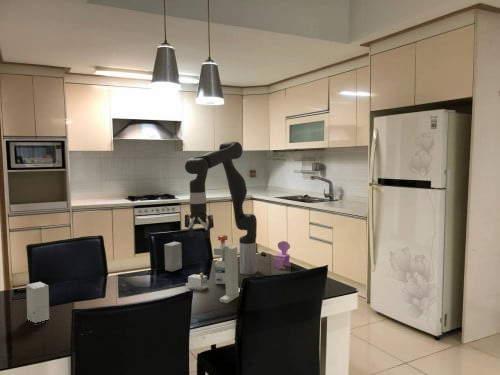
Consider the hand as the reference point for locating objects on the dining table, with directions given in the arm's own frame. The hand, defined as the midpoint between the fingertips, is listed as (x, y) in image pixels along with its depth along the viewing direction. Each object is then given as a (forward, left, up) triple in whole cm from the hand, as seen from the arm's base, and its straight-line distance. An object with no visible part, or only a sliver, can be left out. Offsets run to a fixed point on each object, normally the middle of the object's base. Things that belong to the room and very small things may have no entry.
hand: (199, 237), depth 181 cm
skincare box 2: (-32, -44, -29) cm, 61 cm away
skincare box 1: (+51, -45, -29) cm, 73 cm away
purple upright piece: (-62, +13, -29) cm, 70 cm away
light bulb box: (-25, -4, -29) cm, 38 cm away
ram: (-6, +9, -14) cm, 18 cm away
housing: (-10, -10, -28) cm, 32 cm away
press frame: (-6, +11, -28) cm, 31 cm away
